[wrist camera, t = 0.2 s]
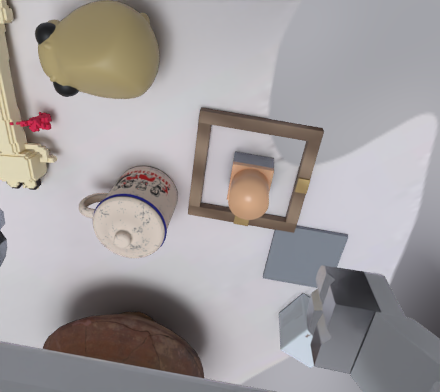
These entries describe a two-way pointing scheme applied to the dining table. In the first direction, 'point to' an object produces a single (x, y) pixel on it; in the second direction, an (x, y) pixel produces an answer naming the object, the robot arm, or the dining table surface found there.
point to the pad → (303, 254)
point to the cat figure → (18, 127)
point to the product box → (296, 331)
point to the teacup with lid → (133, 212)
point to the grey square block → (254, 159)
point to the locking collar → (261, 126)
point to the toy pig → (100, 51)
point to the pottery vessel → (127, 343)
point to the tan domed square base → (249, 190)
